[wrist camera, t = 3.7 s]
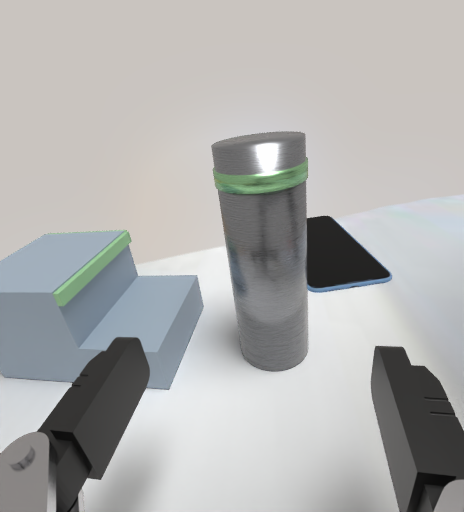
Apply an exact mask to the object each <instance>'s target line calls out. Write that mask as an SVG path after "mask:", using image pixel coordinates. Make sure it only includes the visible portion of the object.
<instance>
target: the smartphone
mask: <svg viewBox="0 0 464 512" xmlns="http://www.w3.org/2000/svg"><path fill="white" fill-rule="evenodd" d="M306 219H307V289H308V290H309V291H312V292H327V291H331V290H332V291H334V290H337V289H339V290H340V289H348V288H350V287H352V286H359V287H360V286H367V285H368V284H369V285H370V284H372V285H373V284H377V283H379V284H380V283H385V282H388V281H390V280H391V279H392V275H391V273H390V272H389V271H388V270H387V269H386V268H385V267H384V266H383V265H382V264H381V263H380V262H379V261H378V260H377V259H376V258H375V257H374V256H372V255H371V254H370V253H369V252H368V251H367V250H366V249H365V248H364V247H363V246H362V245H361V244H360V243H359V242H358V241H356V240H355V239H354V238H353V237H352V236H351V235H350V234H349V233H348V232H347V231H346V230H345V229H344V228H343V227H342V226H341V225H339V224H338V223H337V222H336V221H335V220H334V219H333V218H332V217H329V216H320V217H313V218H306Z"/></svg>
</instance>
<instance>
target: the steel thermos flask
mask: <svg viewBox="0 0 464 512" xmlns="http://www.w3.org/2000/svg"><path fill="white" fill-rule="evenodd" d="M211 147H212V152H213V160H214V168H213V174H214V180H215V186H216V188H217V189H218V194H219V201H220V207H221V214H222V221H223V227H224V234H225V241H226V248H227V255H228V261H229V268H230V275H231V282H232V288H233V295H234V302H235V309H236V315H237V322H238V329H239V336H240V342H241V349H242V353H243V356H244V357H245V359H246V360H247V361H248V362H249V363H250V364H252V365H253V366H255V367H257V368H259V369H262V370H266V371H283V370H287V369H290V368H292V367H295V366H296V365H298V364H299V363H300V362H302V360H303V359H304V358H305V357H306V355H307V352H308V290H307V219H306V179H307V178H308V158H307V157H306V152H305V151H306V150H305V134H304V133H301V132H269V133H259V134H252V135H245V136H239V137H234V138H230V139H226V140H222V141H219V142H216V143H214V144H213V145H212V146H211Z"/></svg>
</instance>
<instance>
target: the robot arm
mask: <svg viewBox="0 0 464 512" xmlns="http://www.w3.org/2000/svg"><path fill="white" fill-rule="evenodd" d="M149 377H150V367H149V364H148V361H147V358H146V356H145V353H144V350H143V347H142V344H141V341H140V339H139V338H137V337H116V338H115V339H114V340H113V341H112V343H111V344H110V345H109V347H108V348H107V350H106V351H101V352H100V353H99V354H98V355H96V356H95V357H94V358H93V359H91V360H90V361H89V362H88V363H87V365H86V366H85V368H84V369H83V370H82V372H81V373H80V376H79V377H77V378H76V380H75V381H74V382H73V384H72V387H70V388H69V389H68V391H67V392H66V393H65V395H64V396H63V397H62V399H61V400H60V401H59V403H58V404H57V405H56V407H55V408H54V409H53V411H52V412H51V414H50V415H49V416H48V418H47V419H46V420H45V422H44V423H43V424H42V426H41V427H40V428H39V429H38V431H37V432H33V433H29V434H26V435H24V436H22V437H20V438H18V439H17V440H15V441H14V442H12V443H11V444H10V445H9V446H8V447H7V448H5V450H4V451H3V452H2V453H0V512H85V510H84V495H83V490H82V486H83V485H84V483H85V481H86V479H87V478H91V479H98V480H101V478H102V476H103V474H104V472H105V470H106V468H107V466H108V464H109V462H110V460H111V458H112V456H113V454H114V452H115V450H116V448H117V446H118V444H119V442H120V440H121V438H122V436H123V433H124V431H125V429H126V427H127V425H128V423H129V421H130V419H131V417H132V415H133V413H134V411H135V409H136V407H137V405H138V403H139V401H140V399H141V397H142V395H143V393H144V391H145V389H146V387H147V384H148V382H149ZM371 393H372V399H373V404H374V408H375V412H376V416H377V420H378V424H379V428H380V433H381V437H382V441H383V445H384V449H385V453H386V457H387V461H388V466H389V470H390V474H391V478H392V482H393V486H394V490H395V494H396V499H397V503H398V507H399V511H400V512H464V431H463V429H462V427H461V424H460V422H459V420H458V418H457V417H456V416H455V412H454V410H453V408H452V406H451V404H450V402H448V398H447V395H446V393H445V391H444V389H443V387H442V385H441V383H440V381H439V380H438V379H437V378H436V377H435V376H434V375H433V374H432V373H431V372H430V371H429V370H428V369H427V368H426V367H425V366H413V365H411V364H410V361H409V359H408V356H407V354H406V351H405V350H404V348H403V347H390V346H376V347H375V350H374V358H373V367H372V375H371Z"/></svg>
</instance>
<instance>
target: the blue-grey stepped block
mask: <svg viewBox="0 0 464 512" xmlns="http://www.w3.org/2000/svg"><path fill="white" fill-rule="evenodd" d="M130 242H131V238H130V235H129V232H127V230H115V231H95V232H94V231H93V232H73V233H50V234H45V235H43V236H41V237H40V238H38V239H37V240H35V241H33V242H31V243H30V244H28V245H27V246H25V247H23V248H21V249H20V250H18V251H16V252H15V253H13V254H11V255H10V256H8V257H6V258H5V259H3V260H1V261H0V371H1V373H2V374H3V376H4V377H9V378H22V379H36V380H50V381H63V382H74V381H75V380H76V378H77V377H79V376H80V373H81V372H82V370H83V369H84V368H85V366H86V365H87V363H88V362H89V361H90V360H91V359H93V358H94V357H95V356H96V355H98V354H99V353H100V352H101V351H106V350H107V348H108V347H109V345H110V344H111V343H112V341H113V340H114V339H115V338H116V337H137V338H139V339H140V341H141V344H142V347H143V350H144V353H145V356H146V358H147V361H148V364H149V367H150V377H149V382H148V384H147V387H146V388H158V389H169V388H170V386H171V383H172V381H173V378H174V376H175V374H176V371H177V369H178V366H179V364H180V362H181V359H182V357H183V354H184V352H185V350H186V347H187V345H188V343H189V340H190V338H191V335H192V333H193V331H194V328H195V326H196V323H197V321H198V319H199V316H200V314H201V311H202V309H203V307H204V306H203V302H202V297H201V292H200V287H199V282H198V277H197V275H183V276H138V274H137V271H136V267H135V264H134V261H133V258H132V255H131V252H130V248H129V245H128V244H129V243H130Z"/></svg>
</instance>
